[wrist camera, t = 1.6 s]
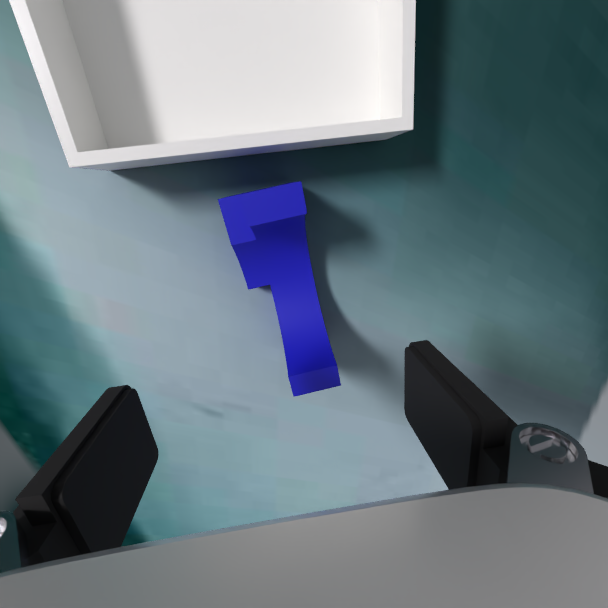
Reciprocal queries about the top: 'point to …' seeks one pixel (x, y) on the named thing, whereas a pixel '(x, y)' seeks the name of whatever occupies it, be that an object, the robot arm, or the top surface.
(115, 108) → the tray
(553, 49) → the top surface
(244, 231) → the cable clip
